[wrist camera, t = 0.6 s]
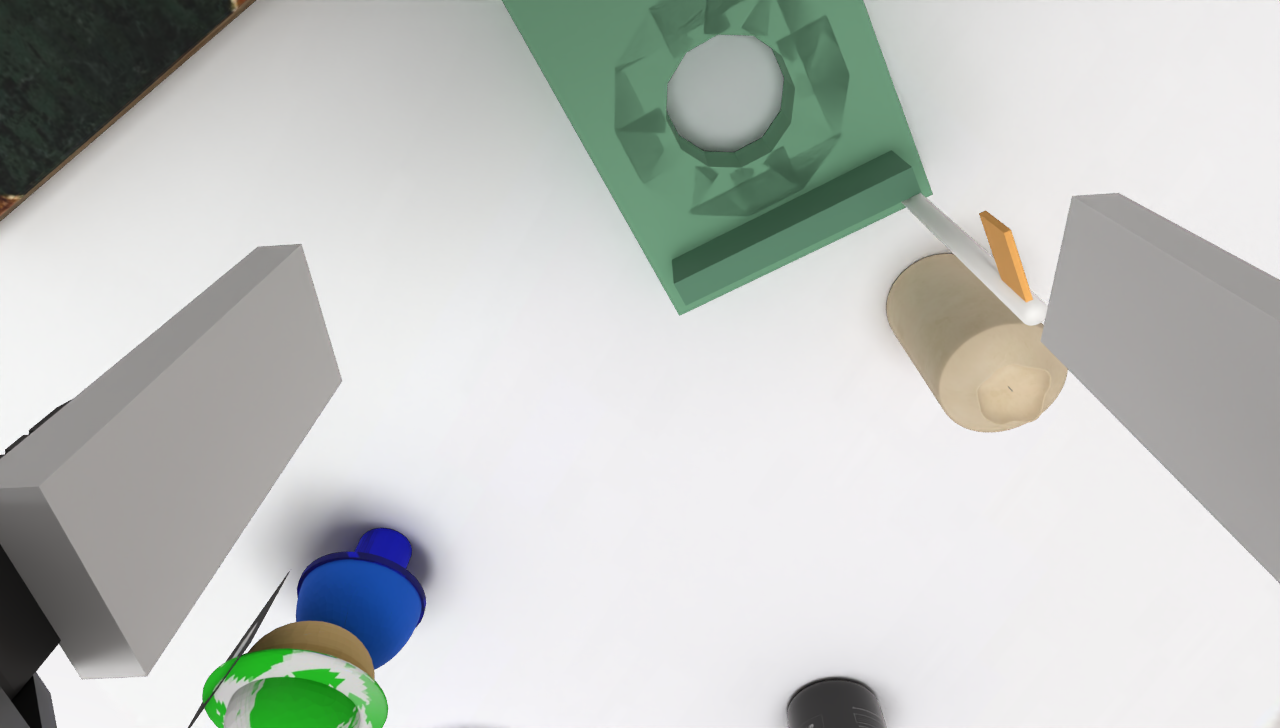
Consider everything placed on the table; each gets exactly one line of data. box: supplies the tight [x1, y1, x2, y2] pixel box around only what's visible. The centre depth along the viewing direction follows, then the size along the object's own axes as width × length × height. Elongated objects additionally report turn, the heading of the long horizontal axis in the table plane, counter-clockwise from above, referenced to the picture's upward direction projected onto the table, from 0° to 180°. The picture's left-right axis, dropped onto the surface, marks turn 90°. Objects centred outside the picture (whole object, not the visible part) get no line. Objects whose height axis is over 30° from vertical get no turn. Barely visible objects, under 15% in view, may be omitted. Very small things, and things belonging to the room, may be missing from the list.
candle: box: [886, 254, 1068, 432], centre depth 36 cm, size 6×6×10 cm
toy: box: [188, 528, 426, 728], centre depth 43 cm, size 9×9×15 cm
